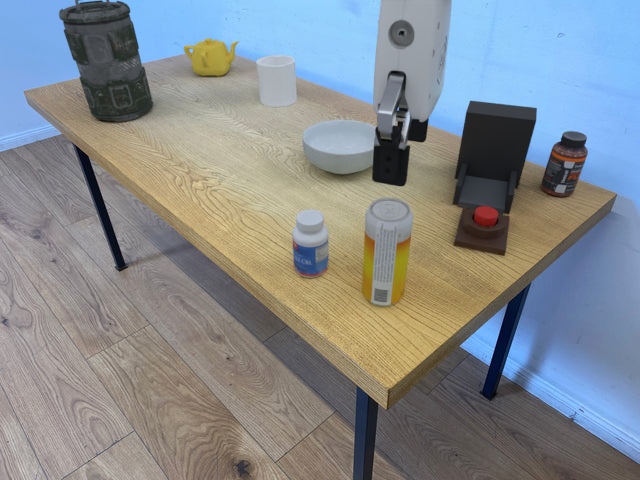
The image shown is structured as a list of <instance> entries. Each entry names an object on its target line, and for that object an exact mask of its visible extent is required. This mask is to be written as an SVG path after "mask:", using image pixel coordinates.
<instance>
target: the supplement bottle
mask: <svg viewBox="0 0 640 480" xmlns="http://www.w3.org/2000/svg"><path fill="white" fill-rule="evenodd" d="M587 139H588V137H587V135H586V134H584V133H582V132H579V131H576V130H575V131H574V130H567V131H564V132H563V133H562V135H561V138H560V141H557V142H555V143H554V144H553V146H552V147H551V151H550V154H549V158H548V160H547V164H546V167H545V169H544V173H543V176H542V179H541V182H540V187H541V190H543V191H544V192H545V193H546V194H548V195H551V196H554V197H558V198H564V197H569V196H571V195H573V194H574V192H575V190H576V187H577V185H578V182H579V180H580V176H581V175H582V172H583V168H584V165H585V163H586V160H587V157H588V155H589V150H588V148H587V147H586V143H587Z"/></svg>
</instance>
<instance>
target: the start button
mask: <svg viewBox="0 0 640 480" xmlns="http://www.w3.org/2000/svg"><path fill="white" fill-rule="evenodd" d="M497 217H498V212H497V210H495V209H494V208H491V207H488V206H481V207H478V208H477V209H476V210H475V215H474V221H475V223H477V224H479V225H482V226H487V227H488V226H494V225H495V224H496V221H497Z"/></svg>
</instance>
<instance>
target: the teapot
mask: <svg viewBox="0 0 640 480" xmlns="http://www.w3.org/2000/svg"><path fill="white" fill-rule="evenodd" d="M239 43H240V40H238V41H233V42H232V43H231V44H230V48H229V49H230V50H229V49H228V47H227V44H226V42H225V41H221V40H218V39H213V38H212V37H211V38H210V37H209V38H204V40H200V41H198V42H197V43H195V44H194V45H189V44H188V45H187V44H185V45H184V46H183V51H184V53H185V55H186V56H187V57H188V59H190V60H191V68H192V71H193V72H194V73H195V75H197V76H198V75H200V77H207V76H215V77H222V76H223V75H225V74H227V73H228V72H229V71H230V69H231V66H232V63H233V62H234V60H235V57H236V46H237V44H239ZM190 49H191V50H192V52H191V51H190Z"/></svg>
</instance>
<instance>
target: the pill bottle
mask: <svg viewBox="0 0 640 480" xmlns="http://www.w3.org/2000/svg"><path fill="white" fill-rule="evenodd" d="M291 239H292V240H291V242H292V255H293V256H292V257H293V268H294V271H295V273H296V274H298V275H299V276H300V277H303V278H307V279H314V278H319V277H321V276H323V275H324V274H325V273H326V272H327V271H328V269H329V249H330V248H329V247H330V246H329V245H330V244H329V240H330V239H329V230H328V227H327V226H326V225H325V216H324V214H323V213H322V212H321V211H319V210H317V209H309V208H308V209H304V210H301V211H299V212H298V213H297V214H296V217H295V226H294V227H293V228H292V232H291Z"/></svg>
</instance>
